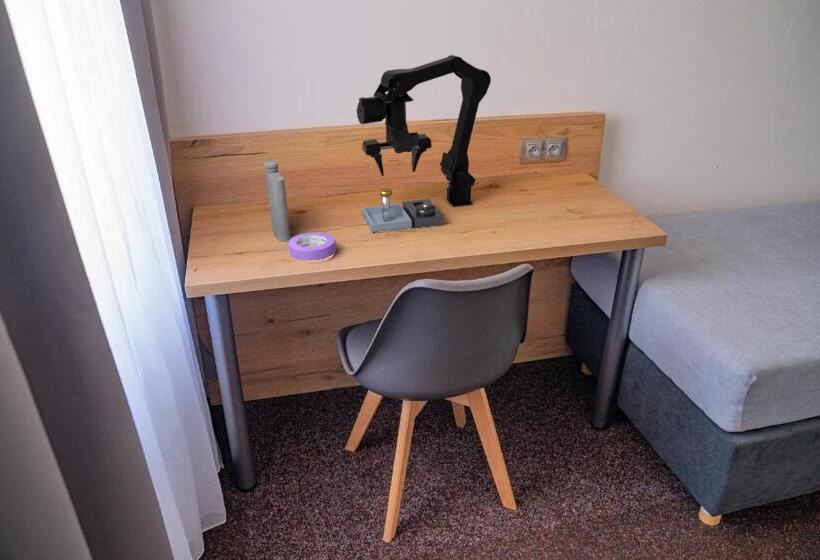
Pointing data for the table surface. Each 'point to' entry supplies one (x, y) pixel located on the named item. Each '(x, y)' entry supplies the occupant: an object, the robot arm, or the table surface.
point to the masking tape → (309, 239)
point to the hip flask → (277, 201)
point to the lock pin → (386, 204)
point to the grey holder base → (423, 213)
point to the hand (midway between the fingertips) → (398, 173)
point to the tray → (397, 222)
